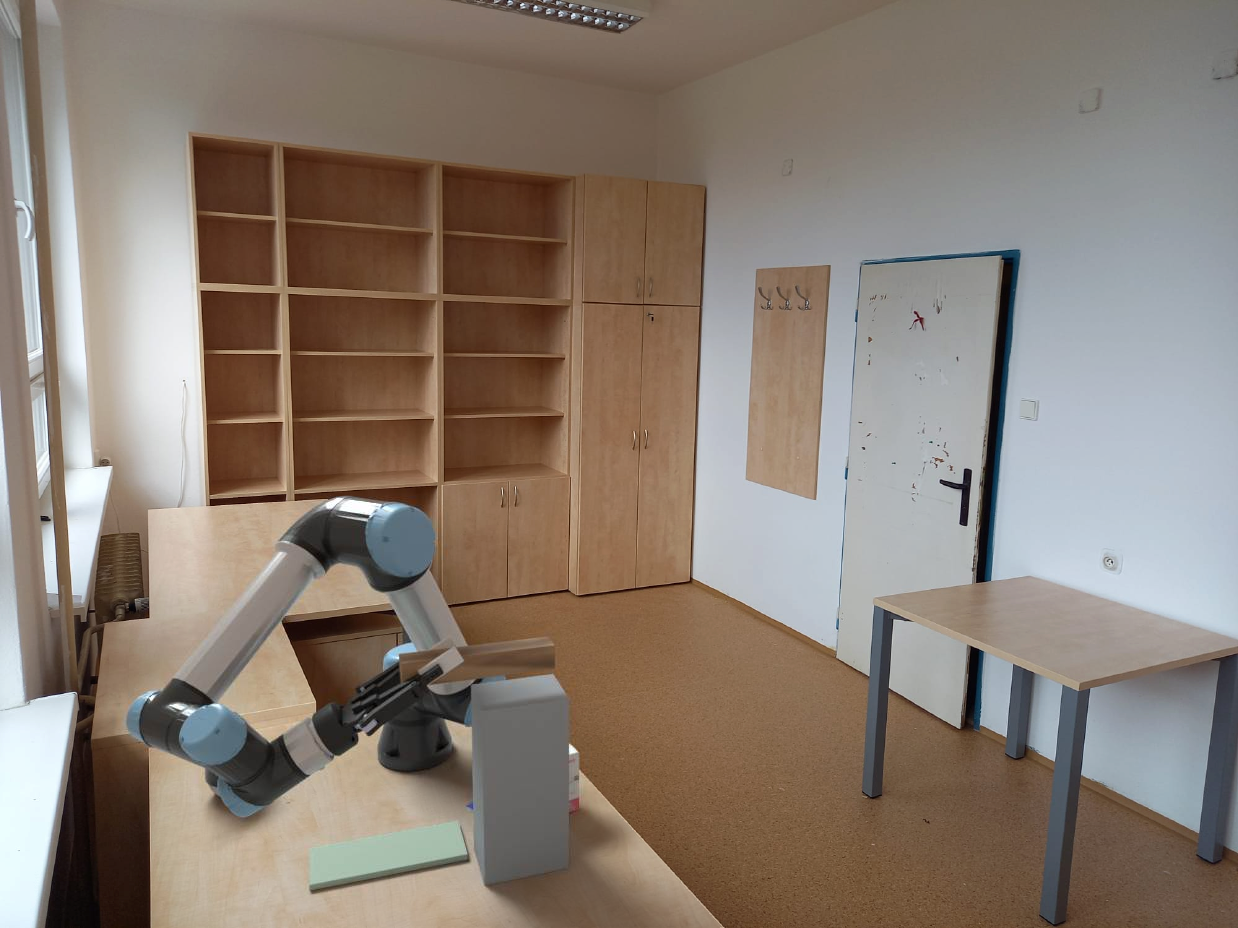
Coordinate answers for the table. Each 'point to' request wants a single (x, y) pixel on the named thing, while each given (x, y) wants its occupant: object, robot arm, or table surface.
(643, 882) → the table surface
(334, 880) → the mat
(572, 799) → the ink box
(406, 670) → the walnut bar
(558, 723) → the stand
